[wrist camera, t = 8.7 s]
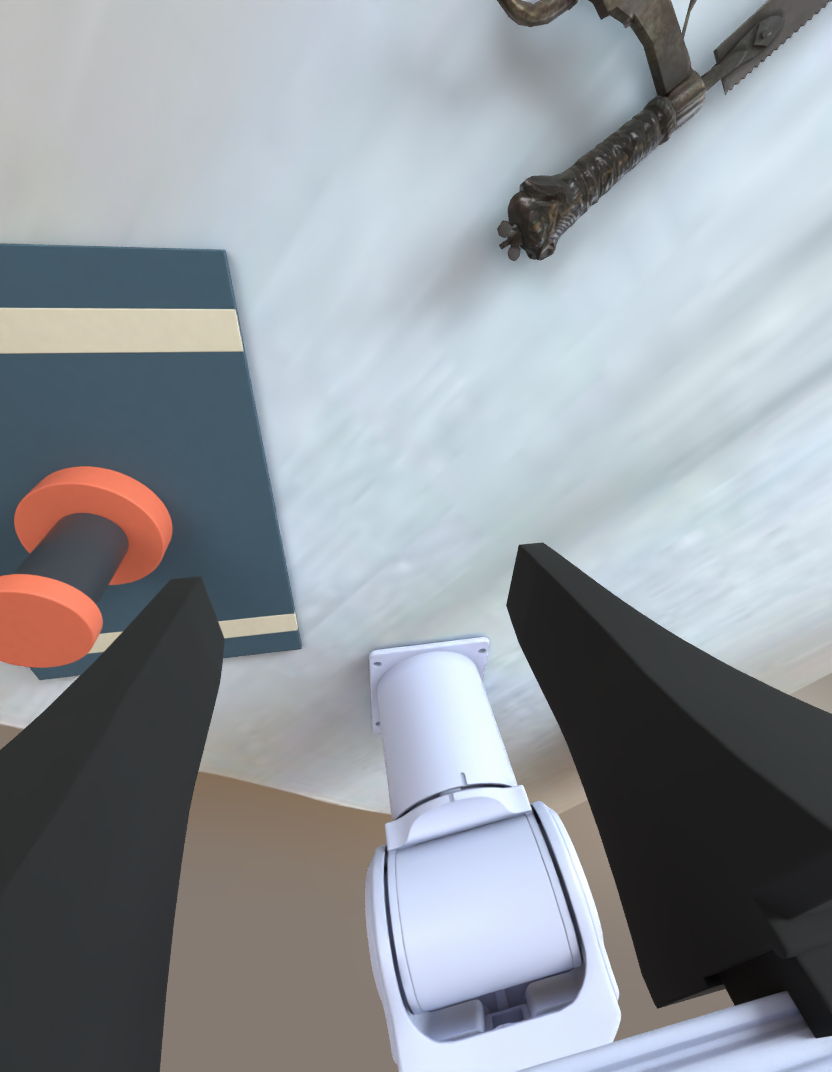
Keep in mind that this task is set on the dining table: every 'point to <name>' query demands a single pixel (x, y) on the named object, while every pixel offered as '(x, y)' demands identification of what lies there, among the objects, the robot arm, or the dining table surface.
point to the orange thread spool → (76, 561)
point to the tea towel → (144, 422)
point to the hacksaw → (680, 92)
